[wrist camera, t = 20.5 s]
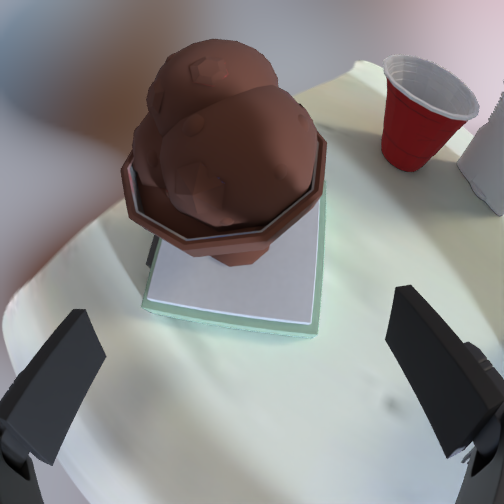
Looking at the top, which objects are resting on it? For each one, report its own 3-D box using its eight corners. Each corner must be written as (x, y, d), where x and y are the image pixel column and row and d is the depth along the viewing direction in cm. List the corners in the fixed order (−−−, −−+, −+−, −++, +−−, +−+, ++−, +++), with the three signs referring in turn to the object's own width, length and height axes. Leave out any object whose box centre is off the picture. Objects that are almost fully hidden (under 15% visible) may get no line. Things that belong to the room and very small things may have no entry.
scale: (322, 194, 27) (327, 174, 24) (312, 338, 22) (320, 334, 19) (181, 182, 29) (173, 163, 26) (144, 311, 23) (128, 303, 20)
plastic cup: (344, 129, 31) (362, 47, 20) (406, 123, 31) (433, 55, 20) (389, 198, 26) (435, 114, 15) (450, 182, 27) (496, 116, 16)
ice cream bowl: (148, 234, 23) (49, 97, 9) (247, 160, 25) (230, 7, 11) (226, 332, 19) (125, 241, 5) (334, 235, 22) (398, 67, 8)
